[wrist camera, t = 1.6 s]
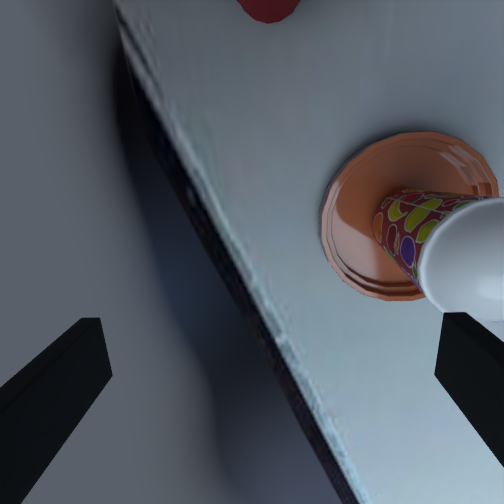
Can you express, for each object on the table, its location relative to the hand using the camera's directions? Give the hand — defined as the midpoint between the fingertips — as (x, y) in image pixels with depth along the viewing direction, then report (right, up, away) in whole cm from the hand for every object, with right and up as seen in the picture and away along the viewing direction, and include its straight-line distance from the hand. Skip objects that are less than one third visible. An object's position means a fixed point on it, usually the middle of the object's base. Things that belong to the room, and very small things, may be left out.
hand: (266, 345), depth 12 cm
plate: (+15, +7, +21) cm, 27 cm away
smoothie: (+15, +7, +21) cm, 27 cm away
